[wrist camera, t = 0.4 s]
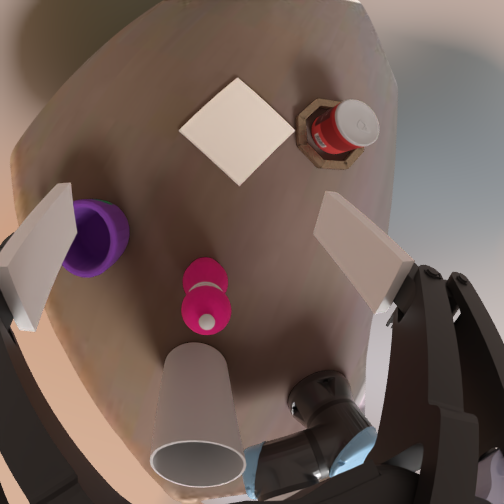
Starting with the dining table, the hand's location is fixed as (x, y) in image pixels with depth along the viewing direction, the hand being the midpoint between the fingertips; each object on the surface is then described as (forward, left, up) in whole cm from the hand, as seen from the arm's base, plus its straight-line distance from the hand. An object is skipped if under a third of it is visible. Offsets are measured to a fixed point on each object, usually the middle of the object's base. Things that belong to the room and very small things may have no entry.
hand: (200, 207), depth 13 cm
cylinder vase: (-20, +25, -33) cm, 46 cm away
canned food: (-8, -25, -33) cm, 42 cm away
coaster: (+4, -13, -33) cm, 36 cm away
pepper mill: (-9, +9, -33) cm, 36 cm away
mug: (+12, +17, -33) cm, 40 cm away
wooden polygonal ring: (-8, -25, -33) cm, 42 cm away
